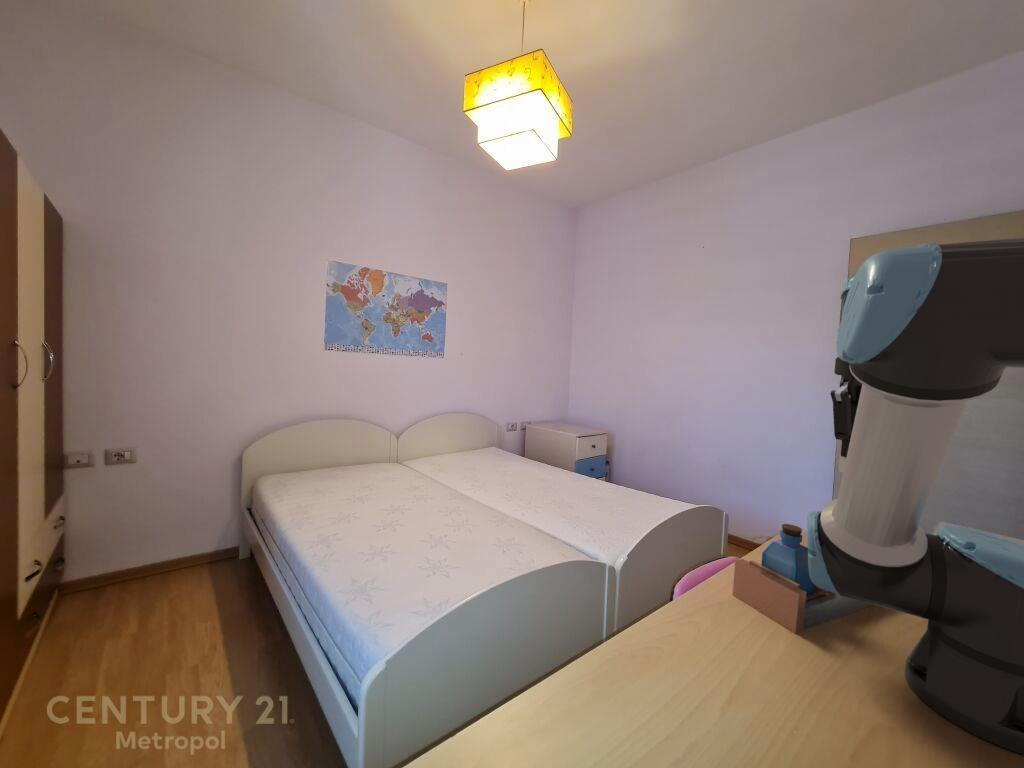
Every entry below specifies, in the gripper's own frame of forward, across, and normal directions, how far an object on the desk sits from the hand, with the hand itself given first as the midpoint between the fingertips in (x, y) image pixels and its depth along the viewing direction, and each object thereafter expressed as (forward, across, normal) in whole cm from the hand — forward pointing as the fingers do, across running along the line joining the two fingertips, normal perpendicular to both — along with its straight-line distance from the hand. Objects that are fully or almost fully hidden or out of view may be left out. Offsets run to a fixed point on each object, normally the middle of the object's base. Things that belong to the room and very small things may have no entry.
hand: (848, 472), depth 83 cm
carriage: (+23, +15, 0) cm, 28 cm away
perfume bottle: (+21, +16, 0) cm, 27 cm away
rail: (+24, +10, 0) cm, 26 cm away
